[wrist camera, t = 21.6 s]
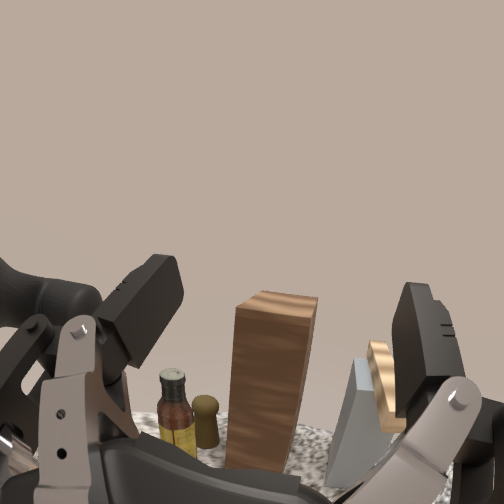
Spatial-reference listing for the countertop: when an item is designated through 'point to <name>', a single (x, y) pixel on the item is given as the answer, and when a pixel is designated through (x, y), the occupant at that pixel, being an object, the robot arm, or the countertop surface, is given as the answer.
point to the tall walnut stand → (268, 378)
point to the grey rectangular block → (356, 431)
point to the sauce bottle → (176, 412)
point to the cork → (206, 421)
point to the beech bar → (384, 386)
